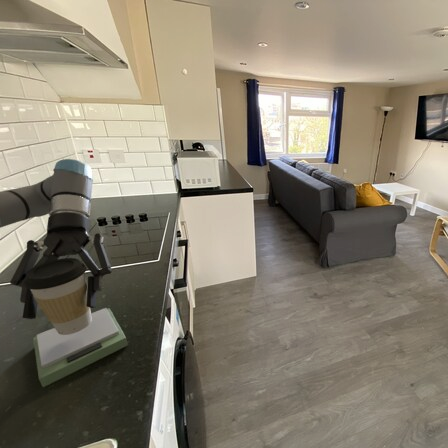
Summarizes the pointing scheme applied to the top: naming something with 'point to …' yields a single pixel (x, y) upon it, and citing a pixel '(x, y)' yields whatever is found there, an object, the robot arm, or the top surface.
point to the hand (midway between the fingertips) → (61, 312)
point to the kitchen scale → (77, 347)
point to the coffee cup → (61, 293)
